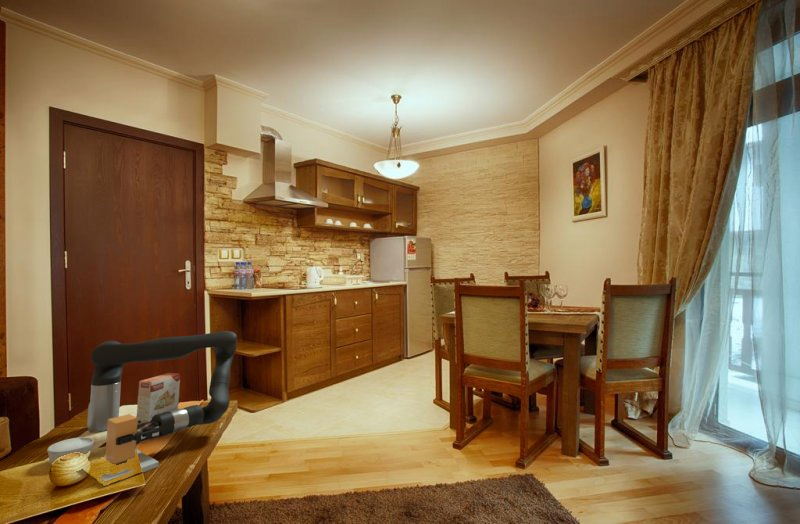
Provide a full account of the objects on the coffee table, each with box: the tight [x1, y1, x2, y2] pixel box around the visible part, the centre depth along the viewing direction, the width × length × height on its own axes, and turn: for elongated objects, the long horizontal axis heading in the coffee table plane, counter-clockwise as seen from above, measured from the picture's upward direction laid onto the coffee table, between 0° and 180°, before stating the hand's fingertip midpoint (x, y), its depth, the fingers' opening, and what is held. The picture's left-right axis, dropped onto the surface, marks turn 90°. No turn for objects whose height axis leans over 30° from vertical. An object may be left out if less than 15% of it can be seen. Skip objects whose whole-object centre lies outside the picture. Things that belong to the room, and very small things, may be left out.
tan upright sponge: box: [104, 413, 138, 464], centre depth 116 cm, size 6×6×12 cm
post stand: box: [100, 448, 160, 482], centre depth 115 cm, size 18×14×8 cm
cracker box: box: [136, 372, 181, 423], centre depth 143 cm, size 14×6×21 cm, turn 168°
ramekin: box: [46, 436, 95, 465], centre depth 119 cm, size 11×11×5 cm
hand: (112, 439), depth 114 cm, fingers closed on tan upright sponge, 5 cm apart
